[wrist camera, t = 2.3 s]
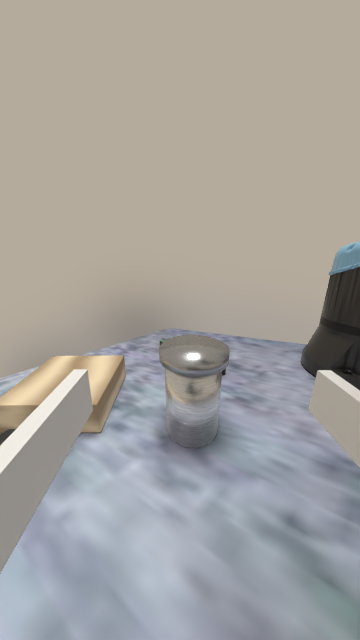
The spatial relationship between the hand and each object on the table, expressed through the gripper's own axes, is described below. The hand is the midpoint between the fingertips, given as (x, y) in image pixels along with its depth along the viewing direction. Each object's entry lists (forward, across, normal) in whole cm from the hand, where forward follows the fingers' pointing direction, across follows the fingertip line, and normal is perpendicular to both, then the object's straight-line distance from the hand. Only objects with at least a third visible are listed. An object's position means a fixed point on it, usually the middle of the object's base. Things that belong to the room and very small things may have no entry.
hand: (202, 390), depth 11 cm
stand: (+15, -16, -13) cm, 26 cm away
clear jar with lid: (+10, 0, -12) cm, 16 cm away
